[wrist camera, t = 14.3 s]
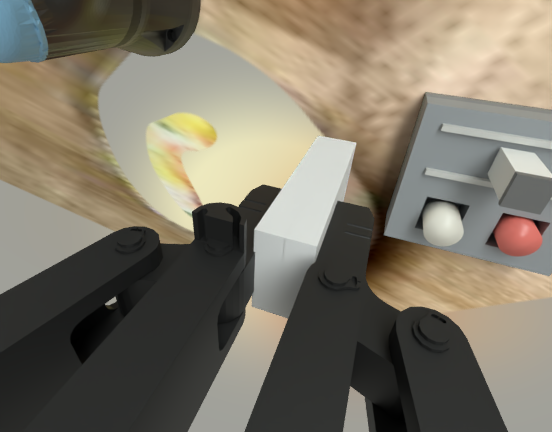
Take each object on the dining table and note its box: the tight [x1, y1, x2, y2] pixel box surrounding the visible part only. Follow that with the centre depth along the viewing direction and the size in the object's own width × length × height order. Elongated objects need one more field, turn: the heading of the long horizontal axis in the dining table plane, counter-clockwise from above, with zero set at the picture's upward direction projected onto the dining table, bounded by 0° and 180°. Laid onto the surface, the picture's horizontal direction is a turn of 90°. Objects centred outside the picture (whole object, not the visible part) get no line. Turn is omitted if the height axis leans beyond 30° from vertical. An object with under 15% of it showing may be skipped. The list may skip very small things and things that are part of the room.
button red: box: [493, 213, 542, 256], centre depth 37 cm, size 4×4×4 cm
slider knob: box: [488, 147, 552, 215], centre depth 30 cm, size 3×3×7 cm
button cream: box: [422, 199, 464, 246], centre depth 37 cm, size 4×4×4 cm
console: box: [384, 92, 552, 276], centre depth 37 cm, size 19×17×6 cm
